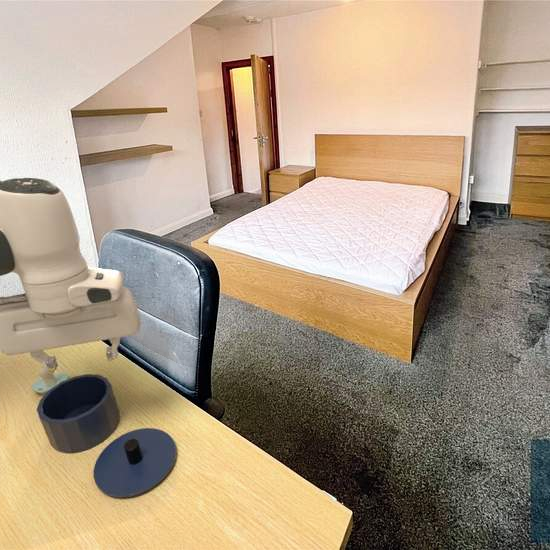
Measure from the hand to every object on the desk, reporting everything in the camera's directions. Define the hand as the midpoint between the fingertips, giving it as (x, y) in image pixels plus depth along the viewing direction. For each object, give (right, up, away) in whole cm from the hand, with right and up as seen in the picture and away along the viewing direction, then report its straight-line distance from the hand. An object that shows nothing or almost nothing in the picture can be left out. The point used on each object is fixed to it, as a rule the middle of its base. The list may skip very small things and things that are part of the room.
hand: (83, 363), depth 67 cm
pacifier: (-18, -10, +23) cm, 31 cm away
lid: (+8, -17, +3) cm, 19 cm away
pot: (-5, -15, +12) cm, 20 cm away
